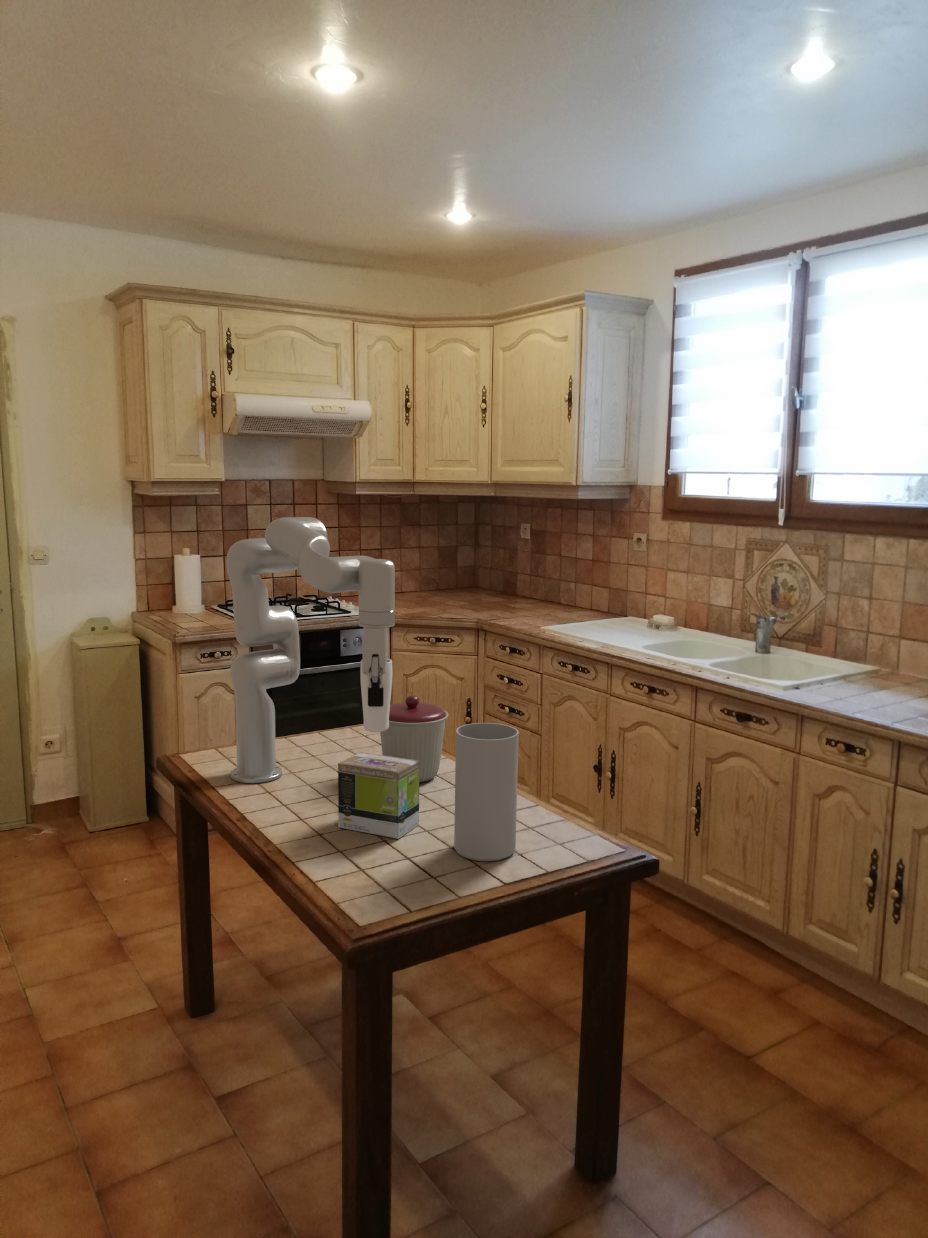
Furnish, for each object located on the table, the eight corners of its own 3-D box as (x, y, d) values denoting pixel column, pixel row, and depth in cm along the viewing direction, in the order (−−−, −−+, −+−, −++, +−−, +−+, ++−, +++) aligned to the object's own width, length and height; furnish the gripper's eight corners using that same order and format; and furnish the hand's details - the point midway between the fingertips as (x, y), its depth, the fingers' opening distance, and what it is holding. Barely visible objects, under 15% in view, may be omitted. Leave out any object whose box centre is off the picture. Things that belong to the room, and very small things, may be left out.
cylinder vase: (455, 837, 190) (457, 722, 186) (514, 839, 189) (517, 723, 186) (452, 862, 177) (454, 739, 174) (516, 864, 177) (519, 740, 173)
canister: (434, 763, 240) (435, 685, 236) (457, 784, 223) (458, 701, 220) (367, 769, 233) (368, 690, 230) (386, 792, 216) (387, 707, 213)
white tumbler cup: (386, 734, 188) (387, 664, 186) (355, 732, 189) (355, 662, 187) (395, 726, 195) (396, 658, 192) (366, 724, 196) (366, 656, 194)
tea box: (420, 825, 196) (421, 759, 194) (398, 841, 187) (398, 772, 185) (361, 813, 203) (361, 749, 200) (336, 828, 194) (336, 762, 191)
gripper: (361, 612, 197) (361, 692, 199) (355, 624, 180) (355, 712, 182) (395, 612, 197) (395, 692, 200) (393, 625, 180) (393, 712, 183)
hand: (376, 701), depth 191 cm, fingers closed on white tumbler cup, 6 cm apart
